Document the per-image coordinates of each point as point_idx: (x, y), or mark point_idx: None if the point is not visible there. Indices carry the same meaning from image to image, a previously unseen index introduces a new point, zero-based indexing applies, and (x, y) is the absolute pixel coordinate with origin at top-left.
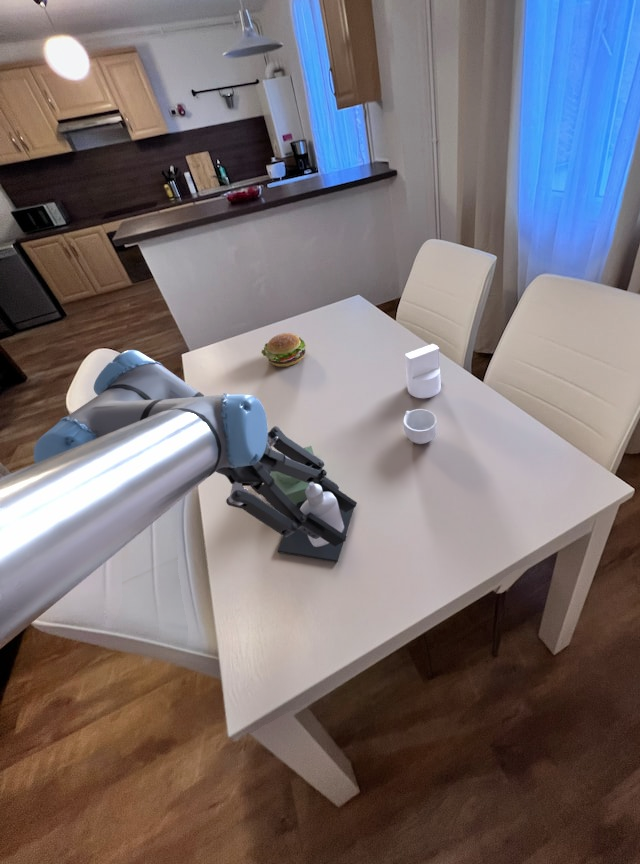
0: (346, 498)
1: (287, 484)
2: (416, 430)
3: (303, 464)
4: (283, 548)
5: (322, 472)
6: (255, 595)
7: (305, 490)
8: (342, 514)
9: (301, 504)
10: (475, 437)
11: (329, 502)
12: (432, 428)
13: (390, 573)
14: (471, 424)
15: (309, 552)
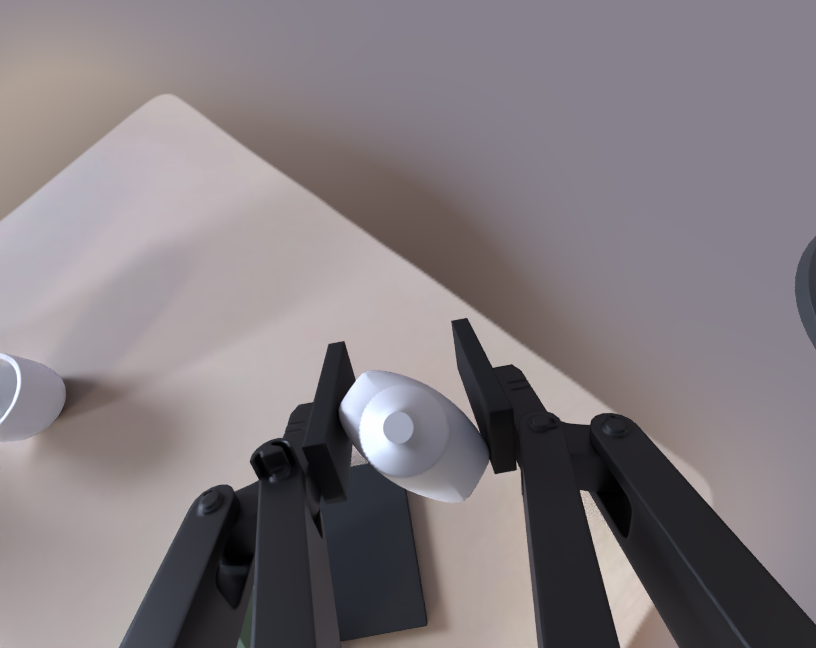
0: (333, 363)
1: None
2: (17, 393)
3: (254, 587)
4: (416, 609)
5: (269, 460)
6: None
7: (249, 643)
8: None
9: None
10: (50, 291)
11: (394, 379)
12: (12, 357)
13: (387, 348)
14: (9, 307)
15: (404, 531)
